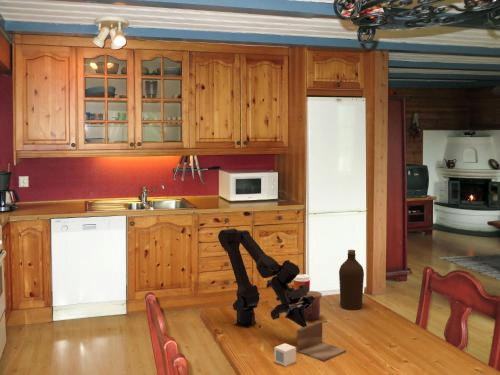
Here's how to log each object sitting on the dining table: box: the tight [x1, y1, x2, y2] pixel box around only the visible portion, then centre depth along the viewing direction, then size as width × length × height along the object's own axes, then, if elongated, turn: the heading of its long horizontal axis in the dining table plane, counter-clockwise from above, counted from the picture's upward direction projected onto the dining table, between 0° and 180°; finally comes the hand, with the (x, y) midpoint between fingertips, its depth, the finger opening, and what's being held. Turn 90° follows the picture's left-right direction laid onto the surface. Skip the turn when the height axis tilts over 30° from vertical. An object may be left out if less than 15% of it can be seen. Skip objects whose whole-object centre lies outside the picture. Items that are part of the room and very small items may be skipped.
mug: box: [301, 290, 323, 321], centre depth 220 cm, size 12×9×10 cm
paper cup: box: [293, 273, 312, 306], centre depth 235 cm, size 8×8×14 cm
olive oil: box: [338, 249, 365, 311], centre depth 235 cm, size 11×11×25 cm
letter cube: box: [273, 342, 297, 367], centre depth 179 cm, size 5×5×5 cm
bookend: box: [296, 320, 347, 363], centre depth 187 cm, size 12×12×8 cm
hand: (305, 327), depth 192 cm, fingers closed
